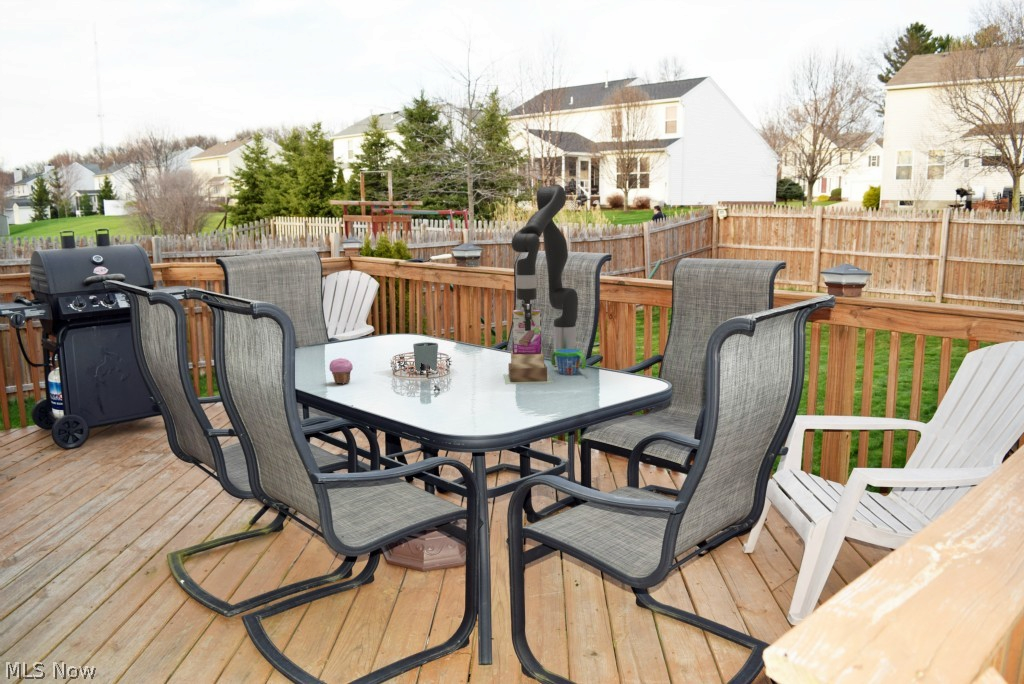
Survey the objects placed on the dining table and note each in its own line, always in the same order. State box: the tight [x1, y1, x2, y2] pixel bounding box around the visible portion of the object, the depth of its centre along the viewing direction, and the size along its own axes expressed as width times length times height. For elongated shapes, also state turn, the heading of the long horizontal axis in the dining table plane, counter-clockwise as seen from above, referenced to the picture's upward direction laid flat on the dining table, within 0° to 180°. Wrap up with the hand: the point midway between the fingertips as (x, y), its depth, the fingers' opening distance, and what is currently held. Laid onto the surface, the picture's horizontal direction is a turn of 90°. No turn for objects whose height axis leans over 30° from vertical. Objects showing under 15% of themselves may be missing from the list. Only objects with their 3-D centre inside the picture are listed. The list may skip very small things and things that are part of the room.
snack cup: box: [550, 348, 587, 376], centre depth 311 cm, size 16×11×10 cm
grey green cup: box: [412, 341, 439, 371], centre depth 322 cm, size 10×10×12 cm
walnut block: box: [508, 362, 548, 382], centre depth 301 cm, size 14×12×5 cm
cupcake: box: [329, 357, 354, 384], centre depth 303 cm, size 9×9×10 cm
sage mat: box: [502, 372, 554, 385], centre depth 302 cm, size 18×18×1 cm
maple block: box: [510, 350, 545, 369], centre depth 301 cm, size 12×10×5 cm
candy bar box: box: [512, 309, 543, 354], centre depth 299 cm, size 11×5×16 cm, turn 87°
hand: (527, 329), depth 299 cm, fingers open, 8 cm apart
